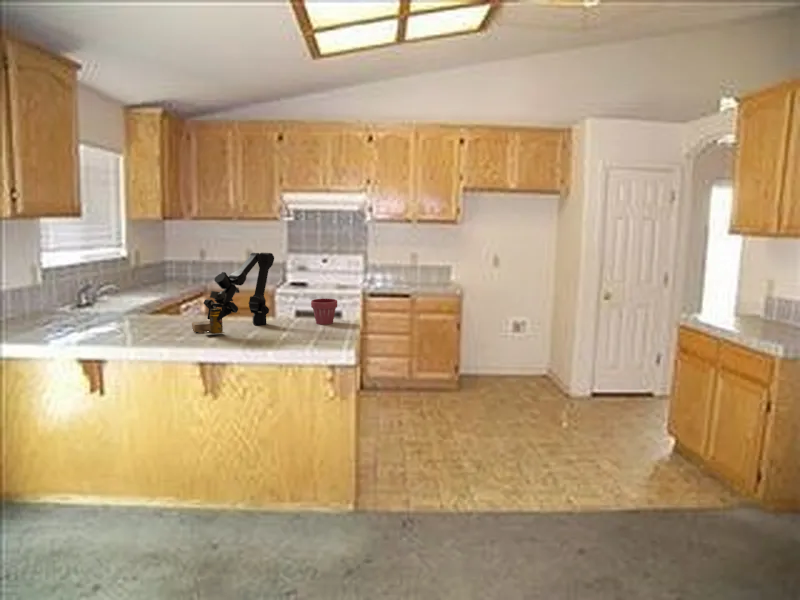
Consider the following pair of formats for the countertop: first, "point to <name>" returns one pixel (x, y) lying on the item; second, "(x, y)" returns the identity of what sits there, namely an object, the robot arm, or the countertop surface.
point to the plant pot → (324, 310)
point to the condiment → (215, 322)
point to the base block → (201, 326)
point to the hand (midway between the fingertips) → (212, 319)
